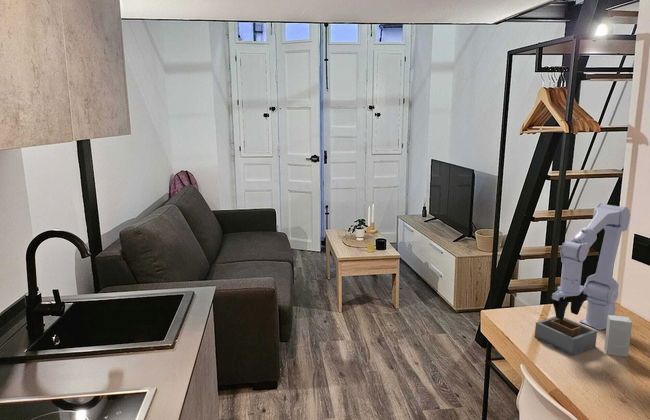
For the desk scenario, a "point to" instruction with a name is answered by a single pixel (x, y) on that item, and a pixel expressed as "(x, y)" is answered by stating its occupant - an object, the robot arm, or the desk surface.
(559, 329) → the small crate
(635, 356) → the desk surface
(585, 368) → the desk surface
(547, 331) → the big crate
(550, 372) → the desk surface
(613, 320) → the skincare box
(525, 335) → the desk surface
